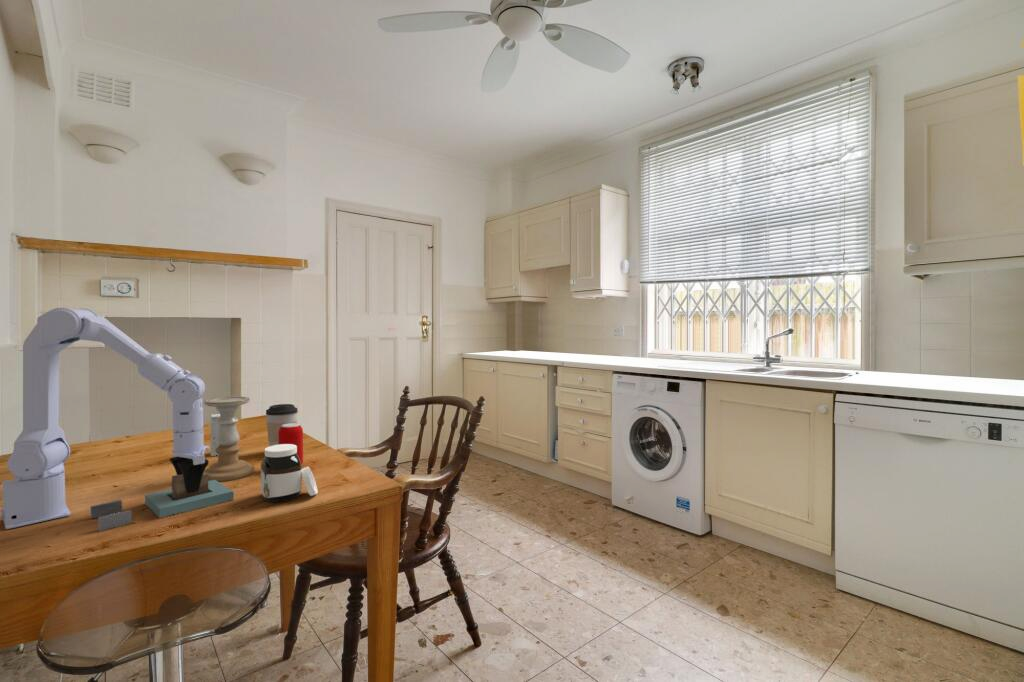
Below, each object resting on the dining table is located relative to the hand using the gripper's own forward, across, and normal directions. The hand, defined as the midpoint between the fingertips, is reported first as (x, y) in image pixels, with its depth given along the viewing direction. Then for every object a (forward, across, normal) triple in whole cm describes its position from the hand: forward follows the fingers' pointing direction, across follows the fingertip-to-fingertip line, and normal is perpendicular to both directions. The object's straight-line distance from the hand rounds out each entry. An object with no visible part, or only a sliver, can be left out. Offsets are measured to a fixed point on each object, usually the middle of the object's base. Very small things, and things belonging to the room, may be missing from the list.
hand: (189, 489), depth 110 cm
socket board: (+3, 0, 0) cm, 3 cm away
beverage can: (+3, +9, -27) cm, 29 cm away
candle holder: (+3, +15, -13) cm, 20 cm away
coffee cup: (+3, +26, -32) cm, 41 cm away
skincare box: (+3, +38, -19) cm, 43 cm away
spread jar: (+3, -13, -17) cm, 22 cm away
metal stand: (+3, 0, +14) cm, 14 cm away
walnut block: (+2, 0, 0) cm, 2 cm away
